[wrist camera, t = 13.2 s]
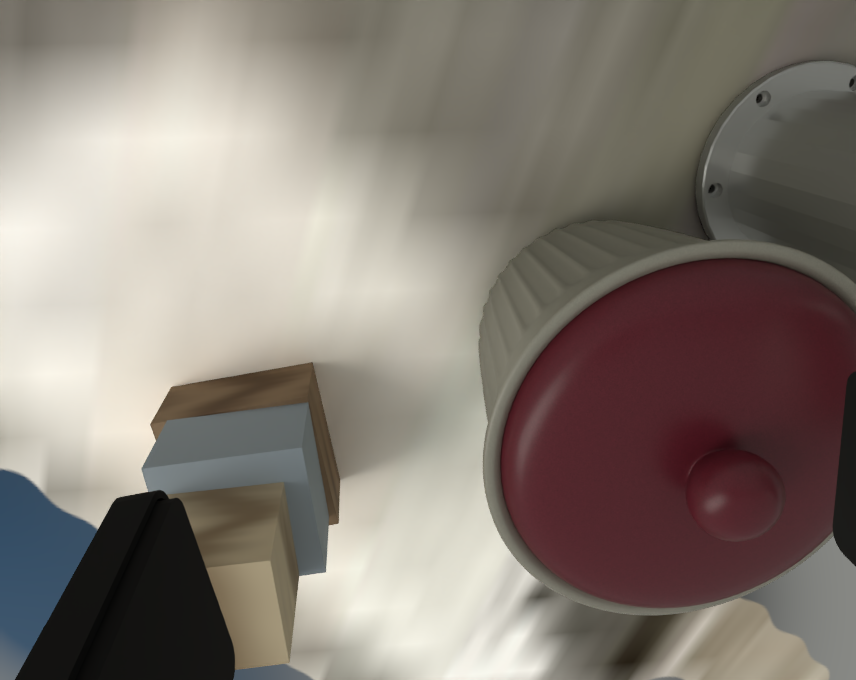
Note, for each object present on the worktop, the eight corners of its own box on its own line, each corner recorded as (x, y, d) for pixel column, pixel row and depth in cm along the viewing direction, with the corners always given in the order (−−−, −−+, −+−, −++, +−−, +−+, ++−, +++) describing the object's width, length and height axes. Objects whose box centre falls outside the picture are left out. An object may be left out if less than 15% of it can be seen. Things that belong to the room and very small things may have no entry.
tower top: (308, 402, 39) (301, 447, 34) (329, 516, 42) (325, 572, 37) (167, 420, 38) (141, 468, 34) (198, 534, 42) (178, 593, 37)
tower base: (312, 361, 43) (307, 396, 39) (340, 478, 47) (338, 523, 42) (172, 385, 43) (150, 424, 38) (210, 501, 47) (194, 549, 42)
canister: (726, 163, 41) (1061, 252, 22) (699, 424, 48) (935, 670, 29) (429, 187, 40) (501, 305, 20) (446, 452, 47) (511, 729, 27)
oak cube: (283, 482, 35) (270, 560, 29) (299, 573, 37) (289, 662, 32) (165, 494, 35) (128, 576, 29) (188, 587, 37) (158, 679, 31)
